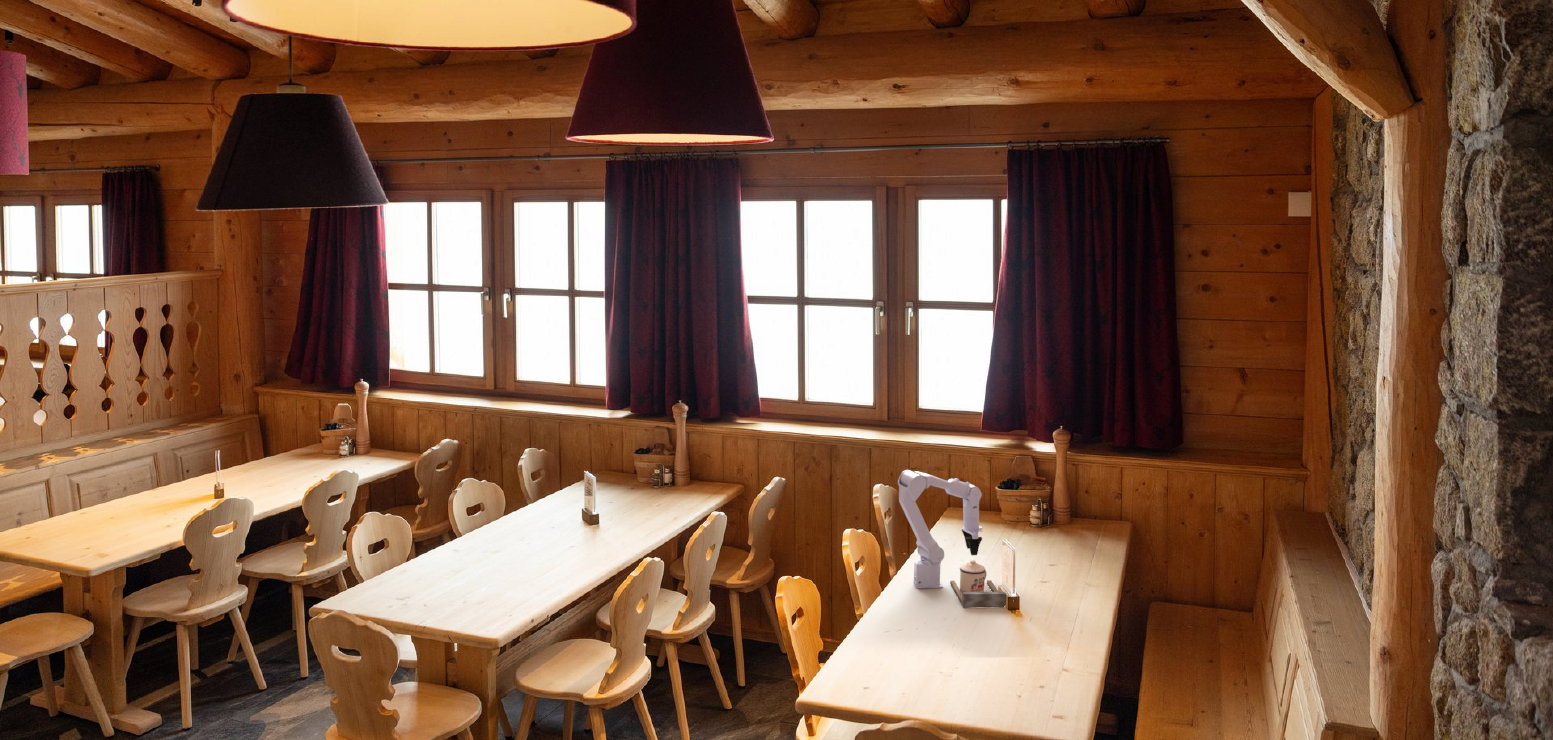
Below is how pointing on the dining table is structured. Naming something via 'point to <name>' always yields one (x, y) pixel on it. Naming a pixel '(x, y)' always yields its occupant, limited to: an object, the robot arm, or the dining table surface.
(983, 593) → the guide track
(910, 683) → the dining table surface
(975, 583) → the teacup with lid
